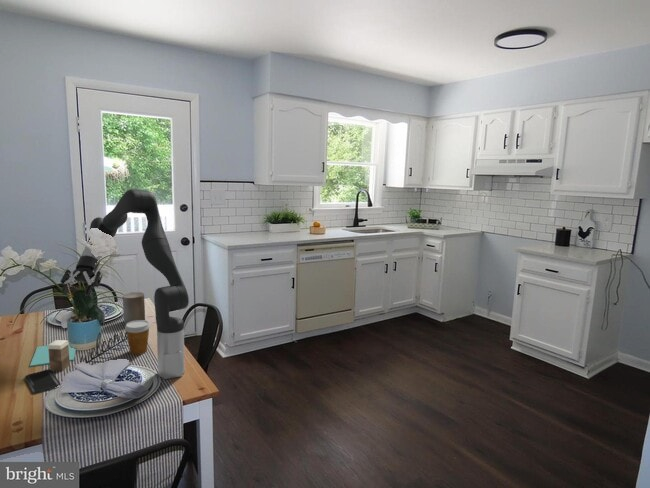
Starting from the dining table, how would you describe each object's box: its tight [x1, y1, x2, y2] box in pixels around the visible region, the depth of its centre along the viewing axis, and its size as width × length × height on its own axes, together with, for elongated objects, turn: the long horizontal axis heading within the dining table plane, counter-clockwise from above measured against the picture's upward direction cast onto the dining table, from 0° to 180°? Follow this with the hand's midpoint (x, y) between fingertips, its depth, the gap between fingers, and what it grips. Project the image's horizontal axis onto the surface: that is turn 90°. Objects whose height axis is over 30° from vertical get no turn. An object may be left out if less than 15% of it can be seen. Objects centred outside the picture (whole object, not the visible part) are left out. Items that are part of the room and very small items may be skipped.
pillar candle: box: [122, 291, 146, 325], centre depth 202 cm, size 10×10×15 cm
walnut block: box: [47, 339, 71, 372], centre depth 153 cm, size 4×4×10 cm
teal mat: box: [29, 342, 77, 368], centre depth 165 cm, size 18×14×1 cm
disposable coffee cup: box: [124, 319, 151, 356], centre depth 169 cm, size 10×10×12 cm
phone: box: [24, 369, 61, 395], centre depth 143 cm, size 8×1×15 cm
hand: (75, 294), depth 161 cm, fingers open, 8 cm apart
